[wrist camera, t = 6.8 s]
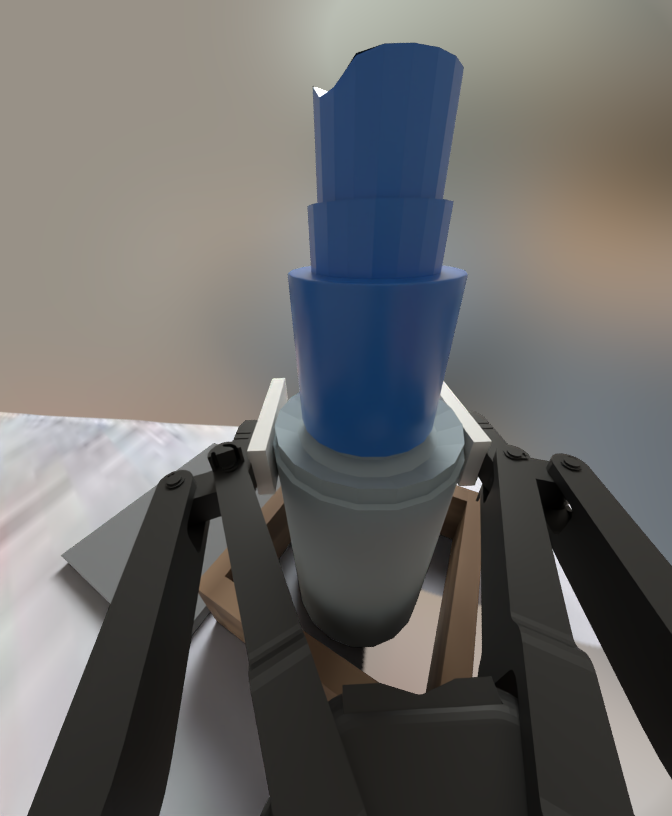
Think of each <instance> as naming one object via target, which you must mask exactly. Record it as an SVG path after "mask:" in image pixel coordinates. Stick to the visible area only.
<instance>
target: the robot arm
mask: <svg viewBox="0 0 672 816" xmlns="http://www.w3.org/2000/svg"><path fill="white" fill-rule="evenodd" d="M439 399H441V400H442V401H443V402H444V403H446V404H447V405H448V406H449V407H451V408H452V409H453V411H454V412H455V414H456V416H457V417H458V419H459V420H460V422H461V423H462V425H463V434H464V443H465V444H464V447H463V449H464V459H465V461H464V464H463V467H462V470H461V473H460V476H459V479H458V482H457V483H458V485H459V486H472V485H475V483H476V481H477V478H478V477H479V479H480V480H481V482H482V486H481V488H480V491H479V493H478V496H477V498H476V501H479V499H480V525H481V605H482V655H481V661H480V665H479V671H478V677H471V678H455V679H453V680H451V681H449V682H447V683H445V684H443V685H441V686H439V687H437V688H435V689H433V690H431V691H429V692H427V693H425V694H421V695H418V694H414V693H411V692H408V691H404V690H401V689H398V688H395V687H391V686H388V685H385V684H382V683H367V684H349V685H342V690H343V695H342V694H340V695H338V696H336V697H334V698H332V699H331V700H329V701H327V698H326V695H325V692H324V689H323V686H322V683H321V680H320V677H319V674H318V671H317V668H316V666H315V663H314V660H313V657H312V654H311V651H310V648H309V645H308V643H307V640H306V637H305V635H304V633H303V630H302V627H301V625H300V622H299V619H298V616H297V613H296V610H295V607H294V604H293V601H292V598H291V595H290V592H289V589H288V586H287V583H286V581H285V578H284V575H283V572H282V569H281V566H280V563H279V560H278V557H277V554H276V551H275V548H274V545H273V542H272V539H271V537H270V534H269V531H268V528H267V525H266V522H265V519H264V516H263V513H262V510H261V507H260V504H259V501H258V498H257V495H256V488H257V490H258V494H259V495H264V494H275V492H276V486H277V481H278V476H279V473H278V468H277V462H276V457H275V452H274V446H273V441H274V437H275V433H276V432H275V423H276V420H277V417H278V414H279V411H280V409H281V408H282V407H283V406H284V405H285V404H286V403H287V402H288V397H287V389H286V382H285V378H275V379H274V378H273V379H272V382H271V384H270V387H269V390H268V393H267V396H266V399H265V402H264V404H263V407H262V410H261V413H260V416H259V418H258V420H245V421H244V422H243V423H242V424H241V425H240V426H239V428H238V430H237V432H236V435H235V437H234V440H233V441H232V442H224V443H221V444H218V445H216V446H215V447H213V448H212V449H211V450H210V451H209V453H208V456H207V458H208V461H209V463H210V466H211V468H212V471H209V472H206V473H203V474H199V475H196V476H193V474H192V473H191V472H190V471H187V470H178V471H174V472H171V473H170V474H168V475H166V476H165V477H164V478H162V479H161V480H160V482H159V483H158V485H157V487H156V490H155V492H154V495H153V497H152V500H151V502H150V505H149V507H148V510H147V512H146V515H145V517H144V520H143V523H142V525H141V528H140V530H139V533H138V535H137V538H136V540H135V543H134V545H133V548H132V551H131V553H130V556H129V558H128V561H127V563H126V566H125V568H124V571H123V573H122V576H121V578H120V581H119V584H118V586H117V589H116V591H115V594H114V596H113V599H112V601H111V604H110V606H109V609H108V611H107V614H106V617H105V619H104V622H103V624H102V627H101V629H100V632H99V634H98V637H97V639H96V642H95V645H94V647H93V650H92V652H91V655H90V657H89V660H88V662H87V665H86V667H85V670H84V672H83V675H82V678H81V680H80V683H79V685H78V688H77V690H76V693H75V695H74V698H73V700H72V703H71V706H70V708H69V711H68V713H67V716H66V718H65V721H64V723H63V726H62V728H61V731H60V733H59V736H58V739H57V741H56V744H55V746H54V749H53V751H52V754H51V756H50V759H49V761H48V764H47V767H46V769H45V772H44V774H43V777H42V779H41V782H40V784H39V787H38V789H37V792H36V794H35V797H34V800H33V802H32V805H31V807H30V810H29V812H28V815H27V816H159V814H160V810H161V806H162V803H163V799H164V795H165V791H166V786H167V781H168V776H169V771H170V765H171V760H172V755H173V749H174V742H175V736H176V730H177V724H178V717H179V711H180V705H181V699H182V692H183V686H184V680H185V674H186V667H187V661H188V655H189V649H190V643H191V636H192V630H193V624H194V618H195V611H196V605H197V599H198V593H199V586H200V580H201V574H202V568H203V561H204V555H205V549H206V543H207V537H208V530H209V524H210V520H211V519H214V518H217V517H220V516H221V517H222V523H223V528H224V533H225V539H226V544H227V549H228V554H229V560H230V565H231V570H232V575H233V581H234V586H235V591H236V597H237V602H238V607H239V612H240V618H241V623H242V628H243V633H244V639H245V644H246V649H247V655H248V661H249V672H248V674H249V683H250V690H251V696H252V701H253V707H254V712H255V718H256V723H257V729H258V734H259V740H260V745H261V751H262V756H263V762H264V767H265V773H266V779H267V784H268V790H269V795H270V797H269V799H268V801H267V803H266V805H265V807H264V809H263V811H262V813H261V815H260V816H635V815H634V813H633V809H632V805H631V802H630V798H629V795H628V791H627V787H626V783H625V779H624V776H623V772H622V768H621V764H620V761H619V757H618V753H617V750H616V746H615V742H614V738H613V735H612V731H611V727H610V724H609V720H608V716H607V712H606V709H605V705H604V701H603V697H602V694H601V690H600V686H599V683H598V679H597V675H596V672H595V669H594V666H593V664H592V661H591V660H590V658H589V657H588V655H587V654H586V653H585V652H583V651H582V650H580V649H579V648H578V647H577V645H576V644H575V642H574V639H573V635H572V631H571V627H570V623H569V619H568V614H567V610H566V606H565V602H564V597H563V593H562V589H561V585H560V580H559V576H558V572H557V568H556V563H555V559H554V555H553V551H554V553H555V555H556V557H557V559H558V561H559V563H560V565H561V567H562V569H563V571H564V573H565V575H566V577H567V579H568V581H569V583H570V585H571V587H572V589H573V591H574V593H575V595H576V597H577V599H578V601H579V603H580V605H581V607H582V609H583V611H584V613H585V615H586V617H587V619H588V621H589V623H590V625H591V627H592V628H593V630H594V632H595V634H596V636H597V638H598V640H599V642H600V644H601V646H602V648H603V650H604V652H605V654H606V656H607V658H608V660H609V662H610V664H611V666H612V668H613V670H614V672H615V674H616V676H617V678H618V680H619V682H620V684H621V686H622V688H623V690H624V692H625V694H626V696H627V698H628V700H629V702H630V704H631V706H632V708H633V710H634V712H635V714H636V716H637V718H638V720H639V722H640V724H641V726H642V728H643V730H644V731H645V733H646V735H647V736H648V739H649V741H650V742H651V744H652V746H653V748H654V750H655V752H656V753H657V755H658V757H659V759H660V761H661V762H662V764H663V766H664V767H665V769H666V771H667V772H668V774H669V775H670V777H671V779H672V566H671V565H670V563H669V562H668V561H667V560H666V559H665V557H664V556H663V555H662V554H661V553H660V551H659V550H658V549H657V548H656V547H655V545H654V544H653V543H652V542H651V541H650V539H649V538H648V537H647V536H646V535H645V534H644V532H643V531H642V530H641V529H640V527H639V526H638V525H637V524H636V523H635V522H634V520H633V519H632V518H631V517H630V516H629V514H628V513H627V512H626V511H625V510H624V508H623V507H622V506H621V505H620V503H619V502H618V501H617V500H616V499H615V497H614V496H613V495H612V494H611V493H610V491H609V490H608V489H607V488H606V487H605V485H604V484H603V483H602V482H601V481H600V479H599V478H598V477H597V476H596V475H595V474H594V472H593V471H592V470H591V469H590V467H589V466H588V465H587V464H585V463H584V462H583V461H581V460H580V459H578V458H576V457H574V456H571V455H567V454H555V455H553V456H552V457H551V459H550V461H545V460H539V459H534V458H530V456H529V454H527V453H526V452H525V451H524V450H522V449H520V448H518V447H515V446H512V445H508V444H507V443H506V442H505V440H503V438H502V437H501V436H500V435H499V434H498V432H497V431H496V430H495V429H493V427H492V426H491V424H489V422H488V421H487V420H486V419H485V417H483V416H482V415H481V414H479V413H477V412H476V411H467V410H466V409H465V407H464V406H463V405H462V404H461V402H460V401H459V400H458V399H457V397H456V396H455V395H454V394H453V392H452V391H451V390H450V389H449V388H448V386H447V385H446V384H445V382H444V381H443V385H442V389H441V394H440V398H439ZM568 504H570V506H571V508H572V510H571V508H570V507H569V505H568ZM552 549H553V551H552Z"/></svg>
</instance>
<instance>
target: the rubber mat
mask: <svg viewBox="0 0 672 816" xmlns="http://www.w3.org/2000/svg"><path fill="white" fill-rule="evenodd" d="M216 445H218V444H215V443H213V444H212V445H211V446H209V447H208V448H207V449H205V450H204V451H203V452H201V453H200V454H198V455H197V456H196V457H194V458H193V459H192V460H190V461H189V462H188V463H186V464H185V465H183V466H182V467H181V468H179V469H178V470H187V471H190V472H191V473H192V474H193V476H196V475H199V474H203V473H206V472H209V471H212V468H211V466H210V463H209V461H208V458H207V456H208V453H209V451H210V450H211V449H212V448H213V447H215V446H216ZM178 470H177V471H178ZM280 486H281V484H280V478H279V476H278V481H277V486H276V491H277V490H278V489H279V488H280ZM156 487H157V485H156V486H155V487H154V488H152V489H151V490H149V491H148V492H147V493H145V494H144V495H143V496H141V497H140V498H139V499H137V500H136V501H134V502H133V503H132V504H130V505H129V506H128V507H126V508H125V509H124V510H122V511H121V512H119V513H118V514H117V515H115V516H114V517H113V518H111V519H110V520H109V521H107V522H106V523H104V524H103V525H102V526H100V527H99V528H98V529H96V530H95V531H94V532H92V533H91V534H90V535H88V536H87V537H85V538H84V539H83V540H81V541H80V542H79V543H77V544H76V545H75V546H73V547H72V548H70V549H69V550H68V551H66V552H65V553H64V554H62V555H61V556H62V557H63V558H64V559H65V560H66V561H67V562H68V563H69V564H70V565H71V566H72V567H73V568H74V569H75V570H76V571H77V572H78V573H79V574H80V575H81V576H82V577H83V578H84V579H85V580H86V581H87V582H88V583H89V584H90V585H91V586H93V587H94V588H95V589H96V590H97V591H98V592H99V593H100V594H101V595H102V596H103V597H104V598H105V599H106V600H107V601H108V602H109V603H110V604H111V601H112V599H113V596H114V594H115V591H116V589H117V586H118V584H119V581H120V578H121V576H122V573H123V571H124V568H125V566H126V563H127V561H128V558H129V556H130V553H131V551H132V548H133V545H134V543H135V540H136V538H137V535H138V533H139V530H140V528H141V525H142V523H143V520H144V517H145V515H146V512H147V510H148V507H149V505H150V502H151V500H152V497H153V495H154V492H155V490H156ZM256 495H257V498H258V501H259V504H260V507H261V508H262V507H263V506H264V505H265V504H266V502H267V501H268V500H269V499H270V498H271V497H272V496H273V494H264V495H259V494H258V490H257V488H256ZM226 548H227V544H226V539H225V533H224V528H223V523H222V517H221V516H220V517H217V518H214V519H211V520H210V524H209V530H208V537H207V543H206V549H205V555H204V561H203V568H202V574H201V577H202V575H203V574H204V573H205V572H206V571H207V570H208V569H209V567H210V566H211V565H212V564H213V563H214V562H215V561H216V559H217V558H218V557H219V556H220V555H221V554H222V553H223V551H224V550H225V549H226ZM209 613H210V610H209V609H208V607H207V606H206V604H205V603H204V601H203V600H202V598H201V597H200V595H199V594H198V599H197V605H196V611H195V618H194V624H193V630H192V635H193V633H194V632H195V631H196V630H197V628H198V627H199V626H200V624H201V623H202V622H203V620H204V619H205V618H206V617H207V615H208V614H209Z"/></svg>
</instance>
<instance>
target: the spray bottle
mask: <svg viewBox="0 0 672 816" xmlns="http://www.w3.org/2000/svg"><path fill="white" fill-rule="evenodd" d="M463 69H464V67H463V65H462V64H461V62H460V61H459V59H458V58H457V57H456V56H455V55H453V54H451V53H449V52H447V51H445V50H443V49H442V48H440V47H435V46H429V45H424V44H418V43H389V44H382V45H379V46H376V47H373V48H370V49H367V50H364V51H361V52H358V53H356V54H355V56H354V57H353V59H352V61H351V63H350V64H349V65H348V67H347V69H346V70H345V72H344V73H343V75H342V76H341V78H340V79H339V81H338V82H337V83H336V85H335V86H334V88H332V89H331V90H329V91H328V92H327V91H324V90H321V89H319V88H316V87H313V104H314V127H315V150H316V151H315V153H316V176H317V201H318V203H316V204H311V205H309V206H308V222H309V240H310V258H311V266H307V267H302V268H298V269H294V270H292V271H290V272H289V273H288V282H289V292H290V302H291V312H292V321H293V331H294V341H295V351H296V361H297V371H298V380H299V390H300V392H299V393H297V394H296V395H294V396H292V397H291V398H290V399H289V401H288V402H287V403H286V404H285V405H284V406H283V407H282V408H281V409H280V411H279V414H278V417H277V420H276V423H275V432H276V433H275V437H274V441H273V446H274V452H275V457H276V462H277V468H278V473H279V478H280V484H281V489H282V494H283V500H284V505H285V511H286V516H287V521H288V527H289V532H290V537H291V543H292V548H293V554H294V559H295V564H296V570H297V575H298V580H299V586H300V591H301V596H302V602H303V604H304V606H305V608H306V610H307V612H308V614H309V616H310V618H311V619H312V621H313V623H314V624H315V625H316V626H317V627H318V628H320V629H321V630H322V631H323V632H324V633H325V634H326V635H327V636H328V637H329V638H331V639H333V640H335V641H338V642H340V643H343V644H345V645H348V646H350V647H374V646H376V645H379V644H381V643H383V642H386V641H388V640H390V639H392V638H394V637H395V636H396V635H397V634H398V633H399V632H400V631H401V629H402V628H403V627H404V626H405V625H406V624H407V623H408V621H409V619H410V617H411V614H412V612H413V610H414V607H415V605H416V602H417V599H418V596H419V593H420V591H421V588H422V585H423V582H424V579H425V576H426V573H427V570H428V567H429V564H430V561H431V558H432V555H433V552H434V549H435V546H436V544H437V541H438V538H439V535H440V532H441V529H442V526H443V523H444V520H445V517H446V514H447V511H448V508H449V505H450V502H451V499H452V496H453V494H454V491H455V488H456V485H457V482H458V479H459V476H460V473H461V470H462V467H463V464H464V461H465V459H464V449H463V447H464V444H465V443H464V434H463V425H462V423H461V422H460V420H459V419H458V417H457V416H456V414H455V412H454V411H453V409H452V408H451V407H449V406H448V405H447V404H446V403H444V402H443V401H442V400H441V399H439V398H440V394H441V389H442V385H443V380H444V376H445V372H446V367H447V363H448V359H449V354H450V350H451V345H452V341H453V337H454V333H455V328H456V324H457V319H458V315H459V310H460V306H461V302H462V298H463V293H464V289H465V285H466V280H467V273H466V271H465V270H462V269H458V268H455V267H449V266H442V263H443V257H444V252H445V246H446V241H447V235H448V229H449V224H450V218H451V213H452V207H453V201H449V200H444V199H443V195H444V188H445V182H446V175H447V170H448V164H449V157H450V151H451V145H452V139H453V133H454V126H455V120H456V114H457V108H458V102H459V95H460V89H461V83H462V76H463Z"/></svg>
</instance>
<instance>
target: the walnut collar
mask: <svg viewBox="0 0 672 816" xmlns="http://www.w3.org/2000/svg"><path fill="white" fill-rule="evenodd" d="M477 496H478V492H475V491H472V490H469V489H466V488H463V487H460V486H457V485H456V488H455V491H454V494H453V496H452V499H451V502H450V505H449V508H448V511H447V514H446V517H445V520H444V523H443V526H442V529H441V532H440V535H442V536H445V537H447V538H450V539H452V546H451V551H450V557H449V563H448V568H447V574H446V580H445V586H444V591H443V597H442V603H441V608H440V615H439V620H438V626H437V631H436V637H435V643H434V649H433V655H432V661H431V666H430V672H429V677H428V683H427V689H426V693H427V692H429V691H431V690H433V689H435V688H437V687H439V686H441V685H443V684H445V683H447V682H449V681H451V680H453V679H455V678H471V677H472V673H473V661H474V647H475V635H476V622H477V609H478V596H479V583H480V571H481V525H480V499H479V501H476V498H477ZM261 510H262V513H263V516H264V519H265V522H266V525H267V528H268V531H269V534H270V537H271V539H272V542H273V545H274V548H275V551H276V554H277V557H278V560H279V558H280V557H281V555H282V554H283V552H284V551H285V550H286V548H287V547H288V545H289V544H290V542H291V537H290V532H289V527H288V521H287V516H286V511H285V505H284V500H283V494H282V489H281V486H280V488H279V489H278V490H277V491H276V492H275V494H273V496H272V497H271V498H270V499H269V500H268V501H267V502H266V504H265V505H264V506H263V507H262V508H261ZM198 594H199V595H200V597H201V598H202V600H203V601H204V603H205V604H206V606H207V607H208V609H209V610H210V612H211V613H212V615H213V616H214V618H215V619H216V621H217V622H219V623H220V624H221V625H222V626H224V627H225V628H226V629H227V630H229V631H230V632H231V633H233V634H234V635H235V636H236V637H238V638H239V639H240V640H241V641H243V642H244V643H245V639H244V633H243V628H242V623H241V618H240V612H239V607H238V602H237V597H236V591H235V586H234V581H233V575H232V570H231V565H230V560H229V554H228V549H227V548H226V549H225V550H224V551H223V553H222V554H221V555H220V556H219V557H218V558H217V559H216V561H215V562H214V563H213V564H212V565H211V566H210V567H209V569H208V570H207V571H206V572H205V573H204V574H203V575H202V577H201V580H200V586H199V593H198ZM303 633H304V635H305V637H306V640H307V643H308V645H309V648H310V651H311V654H312V657H313V660H314V663H315V666H316V668H317V671H318V674H319V677H320V680H321V683H322V686H323V689H324V692H325V695H326V698H327V701H329V700H331V699H332V698H334V697H336V696H338V695H340V694H342V695H343V690H342V685H349V684H367V683H379V682H377V681H376V680H374V679H373V678H371V677H370V676H368V675H367V674H366V673H364V672H363V671H361V670H360V669H358V668H357V667H356V666H354V665H353V664H351V663H350V662H348V661H347V660H345V659H344V658H342V657H341V656H340V655H338V654H337V653H335V652H334V651H332V650H331V649H329V648H328V647H327V646H325V645H324V644H322V643H321V642H319V641H318V640H316V639H315V638H313V637H312V636H311V635H309V634H308V633H306V632H305V631H303Z"/></svg>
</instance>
